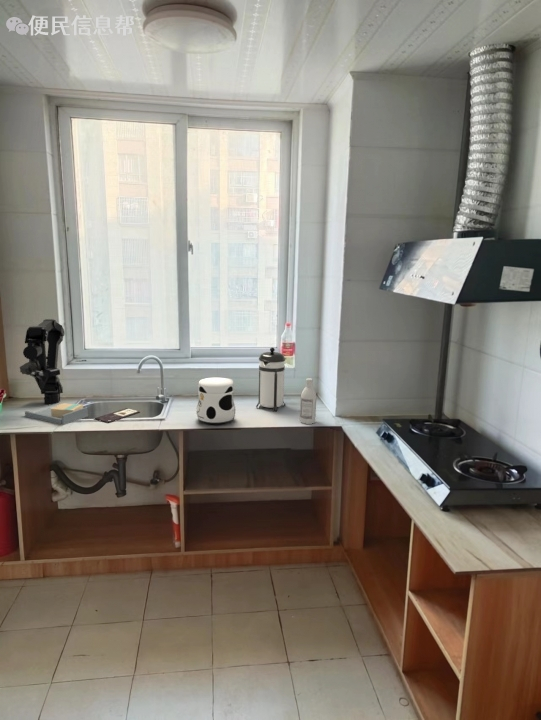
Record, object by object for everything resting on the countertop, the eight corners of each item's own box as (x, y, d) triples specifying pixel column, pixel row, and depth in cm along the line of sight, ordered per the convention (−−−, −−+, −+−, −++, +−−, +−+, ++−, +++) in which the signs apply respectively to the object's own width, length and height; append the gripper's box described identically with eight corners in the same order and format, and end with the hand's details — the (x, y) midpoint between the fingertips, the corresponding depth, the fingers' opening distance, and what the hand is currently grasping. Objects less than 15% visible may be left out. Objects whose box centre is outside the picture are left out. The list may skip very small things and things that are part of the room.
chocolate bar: (94, 418, 206) (126, 408, 221) (94, 420, 206) (126, 410, 221) (108, 422, 201) (140, 411, 216) (108, 424, 202) (140, 413, 217)
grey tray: (49, 411, 216) (48, 399, 214) (88, 419, 206) (87, 407, 205) (24, 419, 204) (23, 407, 203) (64, 428, 194) (63, 415, 193)
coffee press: (291, 411, 225) (293, 350, 219) (259, 412, 221) (260, 350, 215) (282, 400, 241) (283, 343, 235) (251, 402, 237) (252, 344, 231)
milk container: (189, 418, 210) (189, 380, 206) (222, 412, 220) (222, 375, 217) (208, 429, 197) (208, 388, 193) (242, 422, 207) (243, 383, 203)
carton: (62, 412, 209) (61, 403, 208) (83, 414, 208) (82, 404, 207) (51, 418, 201) (50, 408, 200) (73, 420, 200) (72, 410, 199)
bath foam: (307, 418, 214) (308, 376, 210) (318, 422, 209) (320, 379, 205) (296, 421, 210) (298, 378, 206) (308, 425, 205) (309, 381, 201)
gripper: (7, 355, 201) (10, 390, 205) (37, 360, 194) (40, 396, 197) (30, 351, 211) (32, 385, 214) (59, 355, 204) (62, 390, 207)
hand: (41, 389), depth 208 cm, fingers closed
